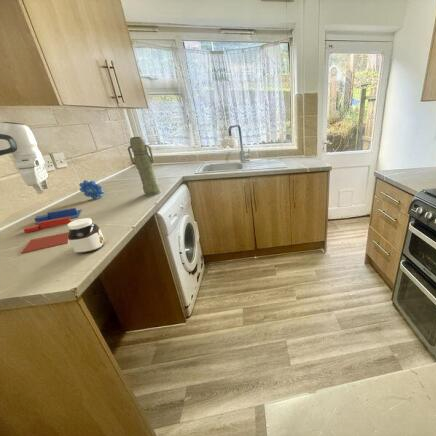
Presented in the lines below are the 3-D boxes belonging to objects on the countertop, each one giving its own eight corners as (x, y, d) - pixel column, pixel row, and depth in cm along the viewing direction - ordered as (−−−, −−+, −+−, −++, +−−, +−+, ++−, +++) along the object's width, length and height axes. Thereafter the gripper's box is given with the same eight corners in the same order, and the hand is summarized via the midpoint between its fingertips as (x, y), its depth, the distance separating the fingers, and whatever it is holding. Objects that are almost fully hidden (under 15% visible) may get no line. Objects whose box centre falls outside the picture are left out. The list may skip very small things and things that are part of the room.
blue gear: (81, 202, 145) (72, 183, 140) (86, 198, 151) (77, 180, 146) (103, 199, 148) (96, 180, 143) (107, 196, 154) (100, 177, 149)
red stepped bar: (24, 232, 108) (21, 226, 106) (27, 229, 110) (24, 223, 109) (70, 224, 115) (68, 218, 114) (72, 221, 118) (69, 216, 117)
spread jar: (96, 254, 89) (83, 226, 84) (61, 259, 87) (46, 231, 82) (111, 239, 100) (100, 213, 95) (80, 243, 98) (67, 217, 93)
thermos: (163, 195, 152) (146, 136, 138) (142, 198, 148) (122, 138, 134) (164, 191, 160) (148, 135, 145) (143, 194, 156) (125, 137, 141)
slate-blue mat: (35, 225, 115) (35, 224, 114) (42, 217, 124) (42, 216, 124) (78, 217, 122) (78, 216, 122) (81, 210, 132) (81, 209, 131)
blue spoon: (35, 221, 117) (32, 216, 116) (37, 219, 120) (35, 213, 119) (77, 214, 125) (75, 209, 124) (78, 212, 128) (76, 207, 127)
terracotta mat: (21, 253, 91) (20, 252, 91) (31, 240, 100) (30, 239, 100) (75, 242, 99) (75, 240, 99) (80, 231, 108) (79, 229, 108)
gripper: (27, 158, 114) (39, 187, 120) (12, 165, 99) (27, 197, 104) (45, 157, 118) (56, 185, 123) (33, 163, 102) (47, 195, 107)
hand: (43, 191), depth 113 cm, fingers open, 8 cm apart
